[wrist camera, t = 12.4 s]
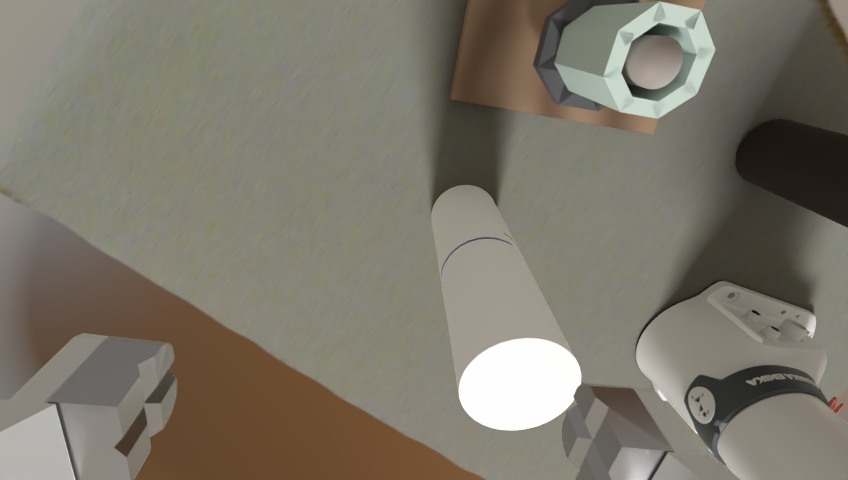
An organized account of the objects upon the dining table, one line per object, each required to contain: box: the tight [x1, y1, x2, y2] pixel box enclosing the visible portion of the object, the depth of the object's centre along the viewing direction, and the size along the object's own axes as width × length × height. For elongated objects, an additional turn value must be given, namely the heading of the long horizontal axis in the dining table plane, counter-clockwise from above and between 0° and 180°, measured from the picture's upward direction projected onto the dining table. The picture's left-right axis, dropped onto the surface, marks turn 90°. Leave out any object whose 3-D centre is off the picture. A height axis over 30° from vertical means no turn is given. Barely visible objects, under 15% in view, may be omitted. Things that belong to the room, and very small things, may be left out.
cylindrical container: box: [431, 185, 581, 430], centre depth 37 cm, size 7×7×25 cm
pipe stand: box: [450, 0, 706, 134], centre depth 34 cm, size 20×12×16 cm, turn 80°
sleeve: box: [554, 1, 715, 119], centre depth 31 cm, size 6×6×10 cm
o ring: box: [533, 0, 640, 111], centre depth 36 cm, size 9×9×2 cm
